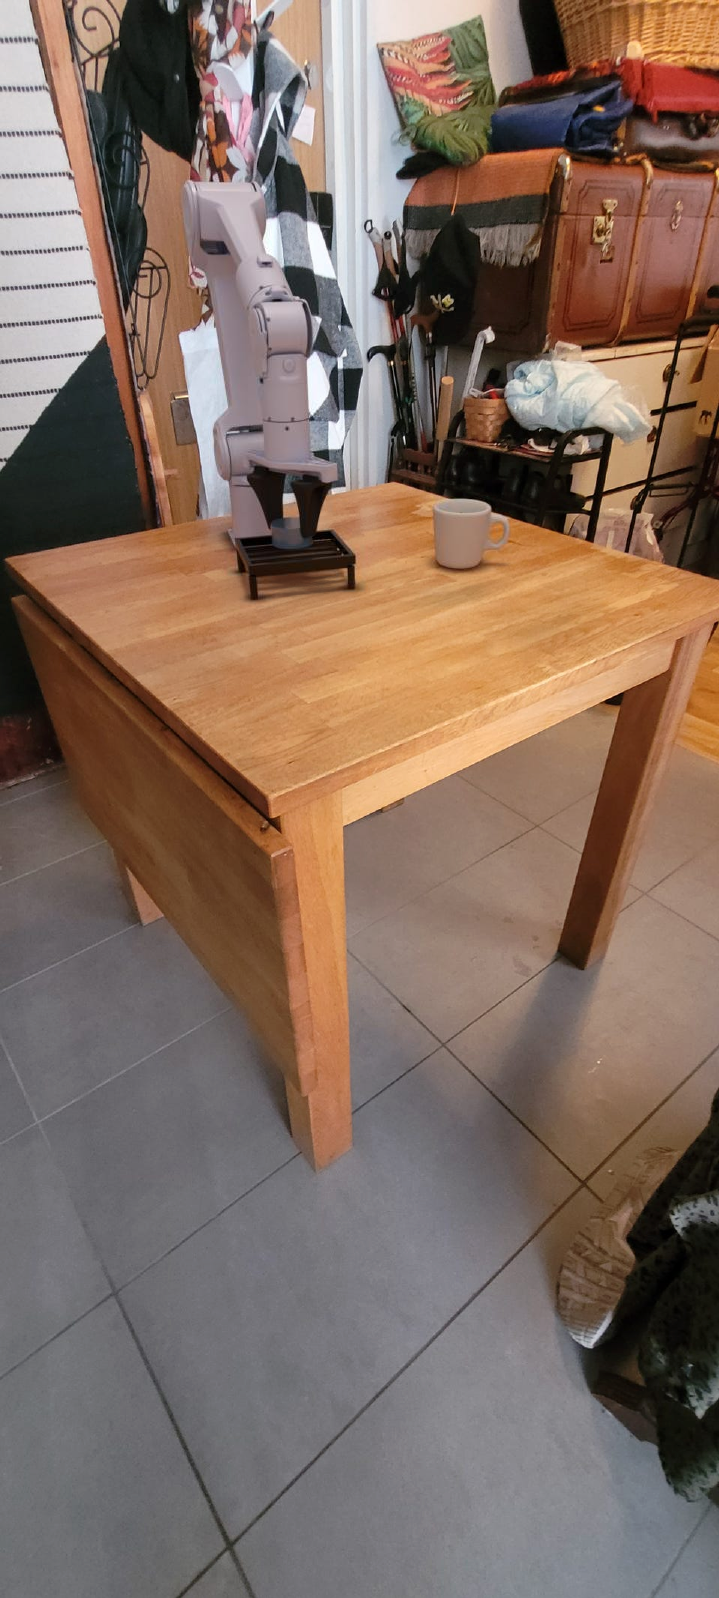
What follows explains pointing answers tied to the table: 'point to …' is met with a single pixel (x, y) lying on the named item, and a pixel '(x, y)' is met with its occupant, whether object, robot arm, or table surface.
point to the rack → (293, 558)
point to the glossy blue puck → (288, 534)
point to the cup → (465, 532)
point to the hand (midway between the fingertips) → (292, 532)
